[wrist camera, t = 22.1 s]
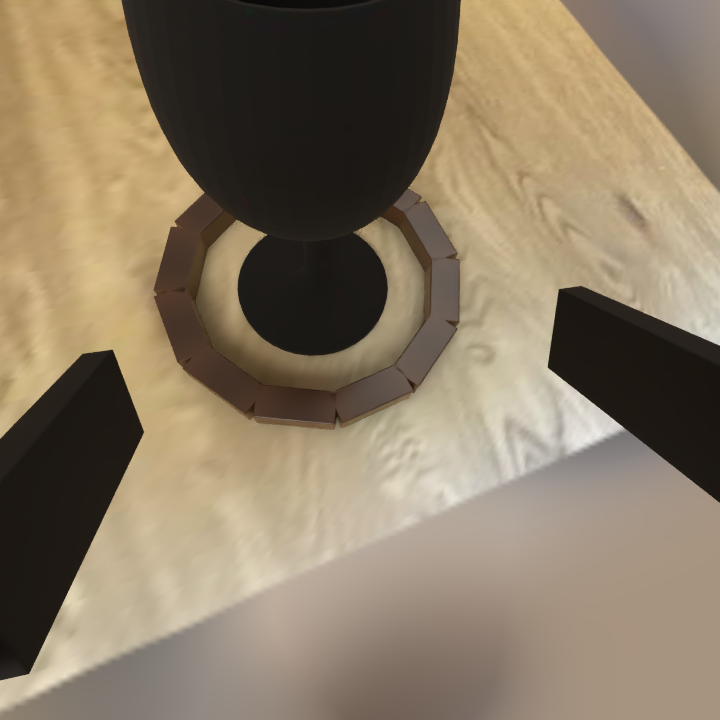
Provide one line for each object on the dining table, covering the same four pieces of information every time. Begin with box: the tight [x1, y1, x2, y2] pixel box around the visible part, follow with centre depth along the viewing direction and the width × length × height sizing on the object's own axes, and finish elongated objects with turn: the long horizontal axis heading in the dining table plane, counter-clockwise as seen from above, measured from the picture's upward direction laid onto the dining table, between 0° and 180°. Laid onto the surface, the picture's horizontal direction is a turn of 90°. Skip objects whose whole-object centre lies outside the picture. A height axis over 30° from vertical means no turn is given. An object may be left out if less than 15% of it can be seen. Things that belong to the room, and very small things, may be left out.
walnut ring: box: [154, 188, 460, 430], centre depth 28 cm, size 20×20×2 cm
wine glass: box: [122, 0, 461, 356], centre depth 20 cm, size 10×10×20 cm
